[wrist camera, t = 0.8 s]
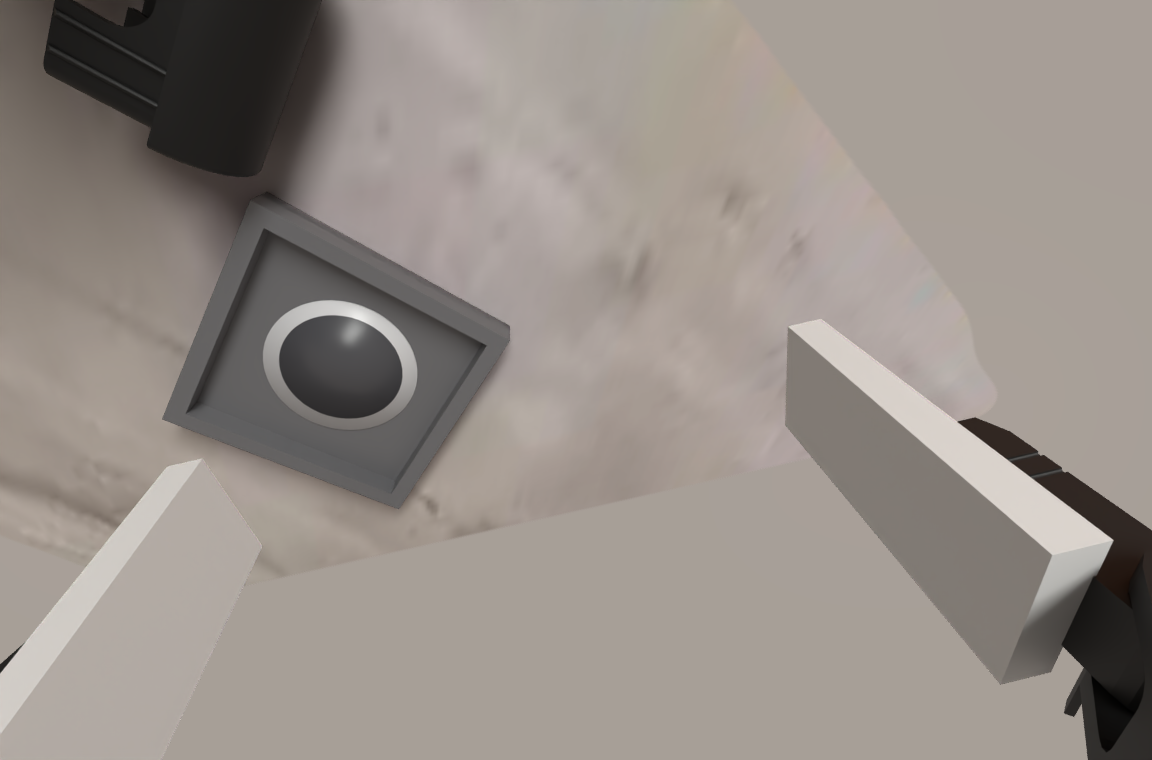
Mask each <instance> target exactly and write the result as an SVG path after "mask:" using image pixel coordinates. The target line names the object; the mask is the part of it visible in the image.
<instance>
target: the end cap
mask: <svg viewBox="0 0 1152 760" xmlns="http://www.w3.org/2000/svg"><path fill="white" fill-rule="evenodd" d="M321 1H322V0H145V2H144V6H143V10H142V13H141V12H140V11H138V10H136V9H134V8H130V7H128V10H127V14H126V18H125V23H124V27H123V26H120V25H117V24H115V23H113V22H111V21H109V20H107V19H105V18H103V17H102V16H100V15H98V14H96V13H95V12H93V11H91V10H89V9H88V8H86V7H84V6H82V5H81V4H79V3H77V2H75V1H73V0H55V2H54V8H53V13H52V18H51V24H50V29H49V34H48V40H47V45H46V51H45V56H44V69H45V71H46V73H47V74H49V75H50V76H52V77H54V78H56V79H58V80H60V81H62V82H64V83H66V84H68V85H70V86H71V87H73V88H75V89H77V90H79V91H81V92H83V93H85V94H87V95H89V96H91V97H93V98H95V99H96V100H98V101H100V102H102V103H104V104H106V105H108V106H110V107H112V108H114V109H116V110H118V111H119V112H121V113H123V114H125V115H127V116H129V117H131V118H133V119H135V120H137V121H139V122H141V123H142V124H144V125H146V126H148V127H150V128H151V131H150V135H149V138H148V142H147V146H148V148H150V149H152V150H154V151H156V152H158V153H160V154H163V155H165V156H167V157H170V158H172V159H174V160H177V161H179V162H182V163H185V164H187V165H190V166H193V167H196V168H199V169H202V170H206V171H209V172H213V173H218V174H222V175H228V176H235V177H249V176H253V175H256V174H257V173H259V172H260V171H261V168H262V166H263V163H264V160H265V157H266V155H267V152H268V149H269V146H270V143H271V141H272V138H273V135H274V132H275V129H276V127H277V124H278V121H279V118H280V115H281V113H282V110H283V107H284V104H285V101H286V99H287V96H288V93H289V90H290V87H291V85H292V82H293V79H294V76H295V74H296V71H297V68H298V65H299V62H300V60H301V57H302V54H303V51H304V48H305V46H306V43H307V40H308V37H309V34H310V32H311V29H312V26H313V23H314V20H315V18H316V15H317V12H318V9H319V6H320V4H321Z"/></svg>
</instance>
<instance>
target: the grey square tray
mask: <svg viewBox="0 0 1152 760" xmlns="http://www.w3.org/2000/svg"><path fill="white" fill-rule="evenodd" d="M509 341H510V326H509V325H507V324H505V323H504V322H502V321H500V320H498V319H496V318H494V317H493V316H491V315H489V314H487V313H485V312H484V311H482V310H480V309H478V308H476V307H475V306H473V305H471V304H469V303H467V302H465V301H464V300H462V299H460V298H458V297H456V296H455V295H453V294H451V293H449V292H447V291H446V290H444V289H442V288H440V287H438V286H436V285H435V284H433V283H431V282H429V281H427V280H426V279H424V278H422V277H420V276H418V275H417V274H415V273H413V272H411V271H409V270H407V269H406V268H404V267H402V266H400V265H398V264H397V263H395V262H393V261H391V260H389V259H387V258H386V257H384V256H382V255H380V254H378V253H377V252H375V251H373V250H371V249H369V248H368V247H366V246H364V245H362V244H360V243H358V242H357V241H355V240H353V239H351V238H349V237H348V236H346V235H344V234H342V233H340V232H339V231H337V230H335V229H333V228H331V227H329V226H328V225H326V224H324V223H322V222H320V221H319V220H317V219H315V218H313V217H311V216H310V215H308V214H306V213H304V212H302V211H300V210H299V209H297V208H295V207H293V206H291V205H290V204H288V203H286V202H284V201H282V200H281V199H279V198H277V197H275V196H273V195H271V194H270V193H268V192H266V193H264V194H262V195H260V196H258V197H256V198H254V199H252V200H250V202H249V205H248V207H247V210H246V212H245V215H244V217H243V220H242V222H241V225H240V227H239V230H238V232H237V235H236V237H235V240H234V242H233V244H232V247H231V249H230V252H229V254H228V257H227V259H226V262H225V264H224V267H223V269H222V272H221V274H220V277H219V279H218V282H217V284H216V287H215V289H214V292H213V294H212V297H211V299H210V302H209V304H208V306H207V309H206V311H205V314H204V316H203V319H202V321H201V324H200V326H199V329H198V331H197V334H196V336H195V339H194V341H193V344H192V346H191V349H190V351H189V354H188V356H187V359H186V361H185V364H184V366H183V369H182V371H181V373H180V376H179V378H178V381H177V383H176V386H175V388H174V391H173V393H172V396H171V398H170V401H169V403H168V406H167V408H166V411H165V413H164V416H163V418H162V419H163V420H165V421H168V422H171V423H173V424H176V425H178V426H181V427H184V428H186V429H189V430H192V431H194V432H197V433H200V434H202V435H205V436H207V437H210V438H213V439H215V440H218V441H221V442H223V443H226V444H228V445H231V446H234V447H236V448H239V449H242V450H244V451H247V452H250V453H252V454H255V455H257V456H260V457H263V458H265V459H268V460H271V461H273V462H276V463H279V464H281V465H284V466H286V467H289V468H292V469H294V470H297V471H300V472H302V473H305V474H307V475H310V476H313V477H315V478H318V479H321V480H323V481H326V482H329V483H331V484H334V485H336V486H339V487H342V488H344V489H347V490H350V491H352V492H355V493H358V494H360V495H363V496H365V497H368V498H371V499H373V500H376V501H379V502H381V503H384V504H386V505H389V506H392V507H394V508H397V509H399V508H400V506H401V505H402V503H403V502H404V500H405V499H406V497H407V496H408V494H409V493H410V491H411V490H412V488H413V487H414V485H415V484H416V482H417V481H418V479H419V478H420V476H421V475H422V473H423V472H424V470H425V469H426V467H427V466H428V464H429V462H430V461H431V459H432V458H433V456H434V455H435V453H436V452H437V450H438V449H439V447H440V446H441V444H442V443H443V441H444V440H445V438H446V437H447V435H448V434H449V432H450V431H451V429H452V428H453V426H454V425H455V423H456V422H457V420H458V419H459V417H460V415H461V414H462V412H463V411H464V409H465V408H466V406H467V405H468V403H469V402H470V400H471V399H472V397H473V396H474V394H475V393H476V391H477V390H478V388H479V387H480V385H481V384H482V382H483V381H484V379H485V378H486V376H487V375H488V373H489V372H490V370H491V368H492V367H493V365H494V364H495V362H496V361H497V359H498V358H499V356H500V355H501V353H502V352H503V350H504V349H505V347H506V346H507V344H508V343H509Z"/></svg>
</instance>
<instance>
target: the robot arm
mask: <svg viewBox="0 0 1152 760" xmlns="http://www.w3.org/2000/svg"><path fill="white" fill-rule="evenodd" d="M785 425H786V427H787V428H788V429H789V430H790V431H791V433H792V434H793V435H794V436H795V437H796V439H797V440H798V441H799V442H800V443H801V445H802V446H803V447H804V448H805V450H806V451H807V452H808V453H809V454H810V456H811V457H812V458H813V459H814V460H815V462H816V463H817V464H818V465H819V466H820V468H821V469H822V470H823V471H824V472H825V474H826V475H827V476H828V477H829V478H830V480H831V481H832V482H833V483H834V484H835V486H836V487H837V488H838V489H839V490H840V492H841V493H842V494H843V495H844V496H845V498H846V499H847V500H848V501H849V502H850V504H851V505H852V506H853V507H854V509H855V510H856V511H857V512H858V513H859V515H860V516H861V517H862V518H863V519H864V521H865V522H866V523H867V524H868V525H869V527H870V528H871V529H872V530H873V531H874V533H875V534H876V535H877V536H878V538H879V539H880V540H881V541H882V542H883V544H884V545H885V546H886V547H887V548H888V550H889V551H890V552H891V553H892V554H893V556H894V557H895V558H896V559H897V560H898V561H899V563H900V564H901V565H902V566H903V568H904V569H905V570H906V571H907V572H908V574H909V575H910V576H911V577H912V579H913V580H914V581H915V582H916V583H917V585H918V586H919V587H920V588H921V589H922V591H923V592H924V593H925V594H926V595H927V596H928V598H929V599H930V600H931V601H932V602H933V604H934V605H935V606H936V607H937V608H938V610H939V611H940V612H941V613H942V614H943V616H944V617H945V618H946V619H947V621H948V622H949V623H950V624H951V626H952V627H953V628H954V629H955V630H956V632H957V633H958V634H959V635H960V636H961V638H962V639H963V640H964V641H965V642H966V643H967V645H968V646H969V647H970V648H971V650H972V651H973V652H974V653H975V654H976V656H977V657H978V658H979V659H980V660H981V662H982V663H983V664H984V665H985V666H986V668H987V669H988V670H989V671H990V673H991V674H992V675H993V676H994V677H995V678H996V680H997V681H998V682H999V683H1000V685H1001V684H1005V683H1009V682H1013V681H1017V680H1021V679H1025V678H1029V677H1032V676H1037V675H1041V674H1045V673H1049V672H1051V670H1052V669H1053V666H1054V664H1055V662H1056V660H1057V658H1058V656H1059V654H1060V652H1061V650H1062V648H1063V647H1064V648H1065V649H1066V650H1067V651H1068V652H1069V653H1070V654H1071V655H1072V656H1073V657H1074V658H1075V659H1076V660H1077V661H1078V662H1079V663H1080V664H1081V665H1082V666H1083V667H1084V668H1083V671H1082V672H1081V674H1080V676H1079V678H1078V680H1077V682H1076V684H1075V685H1074V687H1073V689H1072V691H1071V693H1070V695H1069V697H1068V699H1067V702H1066V706H1065V711H1064V713H1065V714H1068V715H1070V716H1073V717H1074V716H1075V714H1076V713H1077V711H1078V709H1079V707H1080V705H1081V704H1082V710H1083V719H1084V728H1085V738H1086V746H1087V756H1088V760H1152V530H1150V529H1149V528H1147V527H1146V526H1145V525H1143V524H1142V523H1140V522H1139V521H1138V520H1136V519H1135V518H1133V517H1132V516H1130V515H1129V514H1128V513H1126V512H1125V511H1123V510H1122V509H1120V508H1119V507H1117V506H1116V505H1115V504H1113V503H1112V502H1110V501H1109V500H1107V499H1106V498H1104V497H1103V496H1102V495H1100V494H1099V493H1097V492H1096V491H1094V490H1093V489H1092V488H1090V487H1089V486H1087V485H1086V484H1085V483H1083V482H1082V481H1080V480H1079V479H1077V478H1076V477H1074V476H1073V475H1072V474H1070V473H1069V472H1066V473H1064V472H1063V471H1062V468H1061V467H1060V466H1059V465H1057V464H1056V463H1054V462H1053V461H1052V460H1050V459H1049V458H1047V457H1046V456H1044V455H1042V456H1040V455H1039V454H1038V451H1037V450H1036V449H1034V448H1033V447H1032V446H1030V445H1029V444H1027V443H1025V442H1024V441H1023V440H1021V439H1020V438H1019V437H1017V436H1016V435H1014V434H1013V433H1011V432H1010V431H1007V430H1005V429H1003V428H1000V427H998V426H995V425H993V424H990V423H988V422H985V421H982V420H980V419H978V418H971V419H966V420H962V421H958V422H957V421H955V420H954V419H953V418H951V417H950V416H949V415H947V414H946V413H945V412H943V411H942V410H941V409H939V408H938V407H937V406H935V405H934V404H933V403H931V402H930V401H929V400H927V399H926V398H925V397H924V396H922V395H921V394H920V393H918V392H917V391H916V390H914V389H913V388H912V387H910V386H909V385H908V384H906V383H905V382H904V381H902V380H901V379H900V378H898V377H897V376H896V375H894V374H893V373H892V372H890V371H889V370H888V369H886V368H885V367H884V366H883V365H881V364H880V363H879V362H877V361H876V360H875V359H873V358H872V357H871V356H869V355H868V354H867V353H865V352H864V351H863V350H861V349H860V348H859V347H857V346H856V345H855V344H853V343H852V342H851V341H849V340H848V339H847V338H846V337H844V336H843V335H842V334H840V333H839V332H838V331H836V330H835V329H834V328H832V327H831V326H830V325H828V324H827V323H826V322H824V321H823V320H822V319H818V320H814V321H810V322H805V323H801V324H796V325H792V326H788V344H787V381H786V418H785ZM261 548H262V545H261V543H260V542H259V540H258V539H257V537H256V536H255V534H254V533H253V531H252V530H251V529H250V527H249V526H248V524H247V523H246V521H245V520H244V518H243V517H242V515H241V514H240V512H239V511H238V510H237V508H236V507H235V505H234V504H233V502H232V501H231V499H230V498H229V496H228V495H227V493H226V492H225V491H224V489H223V488H222V486H221V485H220V483H219V482H218V480H217V479H216V477H215V476H214V474H213V473H212V471H211V470H210V469H209V467H208V466H207V464H206V463H205V461H204V460H203V459H198V460H194V461H189V462H185V463H180V464H176V465H172V466H167V467H166V469H165V470H164V471H163V472H162V474H161V475H160V476H159V477H158V479H157V480H156V481H155V482H154V484H153V485H152V486H151V487H150V489H149V490H148V491H147V492H146V493H145V495H144V496H143V497H142V498H141V500H140V501H139V502H138V503H137V505H136V506H135V507H134V508H133V510H132V511H131V512H130V513H129V515H128V516H127V517H126V518H125V520H124V521H123V522H122V523H121V524H120V526H119V527H118V528H117V529H116V531H115V532H114V533H113V534H112V536H111V537H110V538H109V539H108V541H107V542H106V543H105V544H104V546H103V547H102V548H101V549H100V551H99V552H98V553H97V554H96V555H95V557H94V558H93V559H92V560H91V562H90V563H89V564H88V565H87V567H86V568H85V569H84V570H83V572H82V573H81V574H80V575H79V577H78V578H77V579H76V580H75V581H74V583H73V584H72V585H71V587H70V588H69V589H68V590H67V591H66V593H65V594H64V595H63V597H62V598H61V599H60V600H59V602H58V603H57V604H56V605H55V606H54V608H53V609H52V610H51V611H50V613H49V614H48V615H47V616H46V617H45V619H44V620H43V621H42V622H41V624H40V625H39V626H38V628H37V629H36V630H35V631H34V633H33V634H32V635H31V636H30V637H29V639H28V640H27V641H26V642H25V643H24V644H23V645H22V646H20V647H19V648H18V649H17V650H16V651H15V652H14V653H12V654H11V655H10V656H9V657H8V658H7V659H6V660H5V661H3V662H2V663H1V664H0V760H161V759H162V757H163V755H164V753H165V751H166V749H167V747H168V744H169V742H170V740H171V738H172V736H173V734H174V732H175V730H176V728H177V726H178V723H179V721H180V719H181V717H182V715H183V713H184V711H185V709H186V707H187V704H188V702H189V700H190V698H191V696H192V694H193V692H194V689H195V687H196V685H197V683H198V681H199V679H200V677H201V675H202V673H203V671H204V668H205V666H206V664H207V662H208V660H209V658H210V656H211V654H212V651H213V649H214V647H215V645H216V643H217V641H218V639H219V637H220V635H221V633H222V630H223V628H224V626H225V624H226V622H227V620H228V618H229V616H230V613H231V611H232V609H233V607H234V605H235V603H236V601H237V599H238V596H239V595H240V592H241V590H242V588H243V586H244V584H245V582H246V580H247V578H248V576H249V573H250V571H251V569H252V567H253V565H254V563H255V561H256V559H257V557H258V554H259V552H260V550H261Z"/></svg>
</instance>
